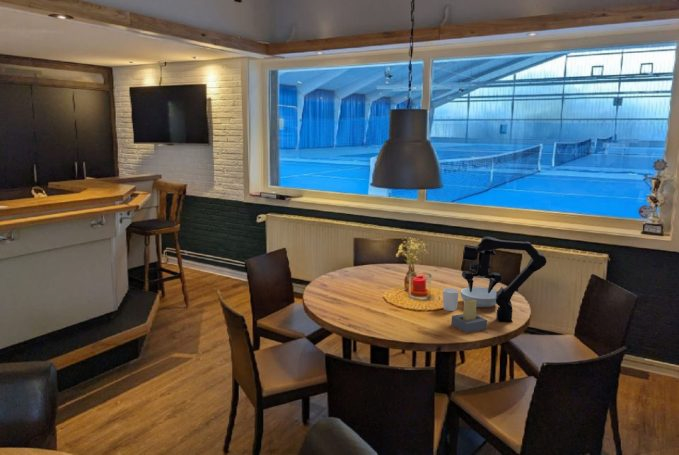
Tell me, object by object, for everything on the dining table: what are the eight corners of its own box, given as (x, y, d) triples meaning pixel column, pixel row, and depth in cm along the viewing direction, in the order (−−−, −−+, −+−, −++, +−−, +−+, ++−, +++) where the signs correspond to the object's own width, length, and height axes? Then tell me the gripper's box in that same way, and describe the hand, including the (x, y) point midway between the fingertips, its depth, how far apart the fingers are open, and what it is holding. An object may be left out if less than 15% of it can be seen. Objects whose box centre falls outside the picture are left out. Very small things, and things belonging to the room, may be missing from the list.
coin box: (471, 321, 254) (471, 312, 253) (486, 328, 244) (487, 319, 243) (451, 324, 248) (451, 315, 248) (466, 332, 239) (466, 323, 238)
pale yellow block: (471, 324, 249) (472, 299, 246) (475, 327, 246) (476, 301, 243) (462, 326, 246) (464, 300, 244) (466, 328, 244) (468, 302, 241)
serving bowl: (499, 300, 285) (500, 288, 283) (500, 313, 265) (501, 300, 264) (460, 296, 290) (461, 284, 289) (459, 309, 270) (459, 296, 269)
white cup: (450, 312, 265) (451, 294, 263) (439, 308, 271) (439, 290, 269) (460, 309, 269) (461, 291, 267) (449, 305, 275) (450, 287, 274)
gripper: (496, 258, 261) (491, 288, 265) (460, 256, 260) (456, 286, 263) (504, 265, 251) (500, 295, 254) (467, 263, 249) (463, 293, 252)
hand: (479, 292), depth 256 cm, fingers open, 9 cm apart
